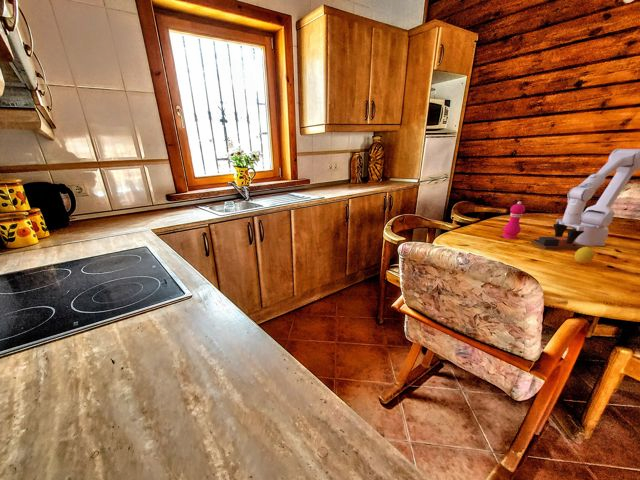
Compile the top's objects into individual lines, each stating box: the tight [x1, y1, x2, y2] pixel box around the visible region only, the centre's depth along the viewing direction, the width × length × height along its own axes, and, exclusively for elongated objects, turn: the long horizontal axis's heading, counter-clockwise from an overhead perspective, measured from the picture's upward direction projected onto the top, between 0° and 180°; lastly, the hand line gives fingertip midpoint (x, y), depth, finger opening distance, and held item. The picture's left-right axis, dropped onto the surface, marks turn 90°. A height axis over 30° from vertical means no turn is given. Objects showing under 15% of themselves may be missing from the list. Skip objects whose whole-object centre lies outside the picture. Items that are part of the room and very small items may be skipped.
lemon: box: [573, 246, 595, 266], centre depth 115 cm, size 6×6×8 cm
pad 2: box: [553, 236, 575, 246], centre depth 135 cm, size 6×4×4 cm
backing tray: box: [530, 239, 583, 251], centre depth 136 cm, size 15×10×2 cm
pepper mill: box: [502, 200, 526, 240], centre depth 147 cm, size 7×7×20 cm
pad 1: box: [537, 236, 559, 246], centre depth 136 cm, size 6×4×4 cm
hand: (563, 241), depth 134 cm, fingers open, 7 cm apart
